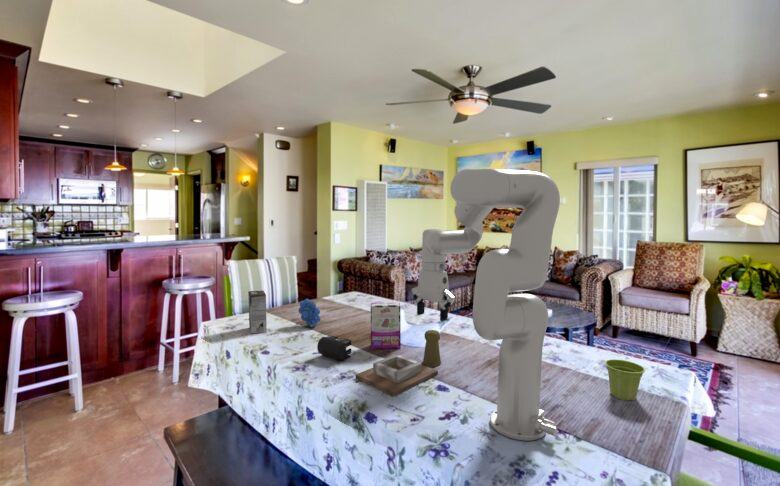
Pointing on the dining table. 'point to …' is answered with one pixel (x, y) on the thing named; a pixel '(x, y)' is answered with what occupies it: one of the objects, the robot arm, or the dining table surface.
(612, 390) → the plant pot
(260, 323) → the coffee box
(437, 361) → the cork
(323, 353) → the end cap
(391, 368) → the socket board
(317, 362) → the dining table surface
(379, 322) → the candy bar box
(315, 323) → the blue scalloped wheel
